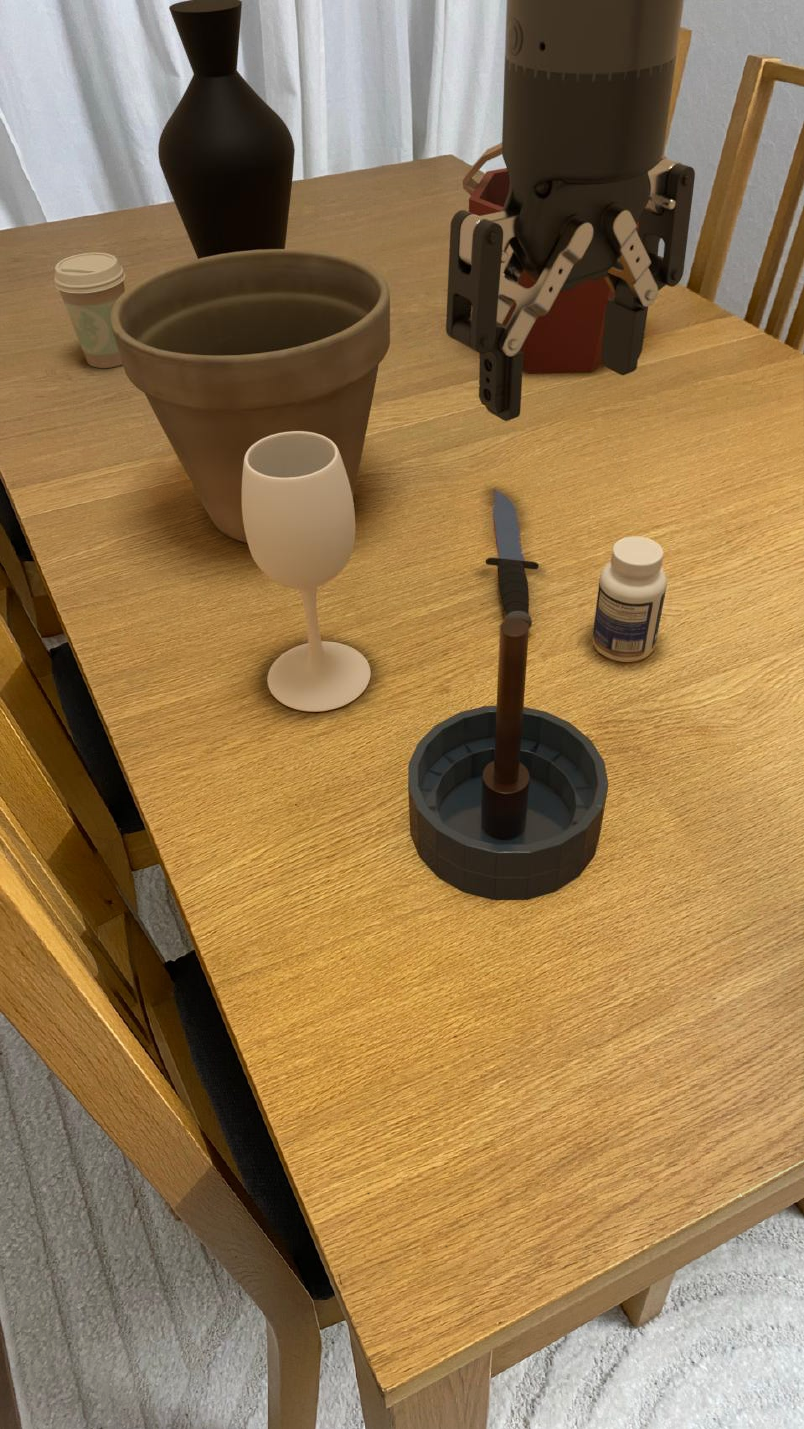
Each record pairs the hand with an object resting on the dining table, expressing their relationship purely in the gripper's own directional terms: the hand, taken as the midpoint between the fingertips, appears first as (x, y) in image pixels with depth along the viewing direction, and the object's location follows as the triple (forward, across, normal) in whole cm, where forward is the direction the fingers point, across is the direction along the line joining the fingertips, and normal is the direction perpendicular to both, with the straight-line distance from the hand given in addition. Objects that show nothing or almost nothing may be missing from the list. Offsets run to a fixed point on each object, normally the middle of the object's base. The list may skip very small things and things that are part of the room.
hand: (561, 391), depth 55 cm
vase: (+30, +25, +90) cm, 98 cm away
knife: (+30, +16, +21) cm, 40 cm away
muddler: (+29, -6, -4) cm, 30 cm away
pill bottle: (+30, +15, +6) cm, 34 cm away
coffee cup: (+30, +3, +87) cm, 92 cm away
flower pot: (+30, +3, +43) cm, 53 cm away
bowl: (+30, -6, -4) cm, 31 cm away
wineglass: (+30, -8, +18) cm, 36 cm away
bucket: (+30, +49, +53) cm, 78 cm away
